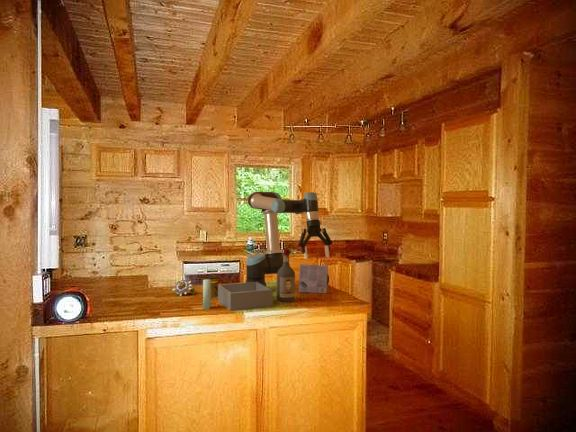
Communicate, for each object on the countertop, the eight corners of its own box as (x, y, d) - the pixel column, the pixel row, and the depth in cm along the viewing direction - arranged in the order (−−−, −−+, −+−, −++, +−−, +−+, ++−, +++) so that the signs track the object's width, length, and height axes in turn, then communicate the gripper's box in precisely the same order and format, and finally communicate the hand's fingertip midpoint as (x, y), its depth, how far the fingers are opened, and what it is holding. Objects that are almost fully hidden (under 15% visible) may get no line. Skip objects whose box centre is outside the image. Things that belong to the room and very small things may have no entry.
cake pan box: (328, 292, 253) (329, 264, 253) (328, 293, 248) (329, 265, 248) (299, 290, 255) (299, 263, 255) (298, 292, 250) (298, 264, 250)
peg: (202, 307, 211) (202, 279, 210) (209, 306, 213) (209, 279, 212) (203, 309, 207) (204, 280, 207) (211, 308, 209) (211, 280, 209)
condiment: (220, 297, 236) (220, 277, 235) (206, 298, 231) (207, 278, 231) (215, 294, 242) (215, 275, 241) (202, 296, 237) (202, 276, 237)
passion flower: (180, 305, 237) (168, 289, 234) (184, 297, 247) (173, 282, 245) (196, 295, 236) (184, 279, 233) (199, 287, 246) (187, 272, 244)
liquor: (275, 299, 231) (276, 248, 231) (290, 298, 235) (290, 248, 234) (280, 303, 223) (281, 250, 222) (295, 301, 226) (296, 249, 225)
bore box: (217, 300, 227) (218, 284, 227) (256, 296, 237) (257, 281, 237) (230, 310, 205) (230, 293, 205) (272, 306, 216) (273, 289, 215)
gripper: (295, 219, 211) (299, 259, 208) (335, 218, 222) (339, 256, 218) (289, 221, 218) (293, 260, 215) (328, 220, 228) (333, 257, 225)
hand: (317, 258), depth 217 cm, fingers open, 13 cm apart
